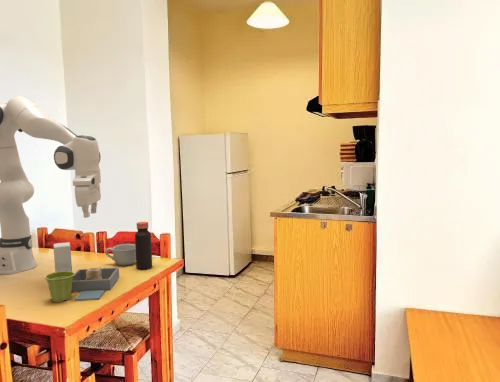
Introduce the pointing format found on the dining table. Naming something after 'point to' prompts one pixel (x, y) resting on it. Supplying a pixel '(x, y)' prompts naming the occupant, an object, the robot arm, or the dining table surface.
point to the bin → (95, 284)
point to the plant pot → (60, 285)
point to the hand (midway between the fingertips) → (90, 215)
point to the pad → (90, 295)
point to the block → (93, 274)
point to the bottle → (143, 246)
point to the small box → (62, 257)
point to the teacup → (123, 254)
